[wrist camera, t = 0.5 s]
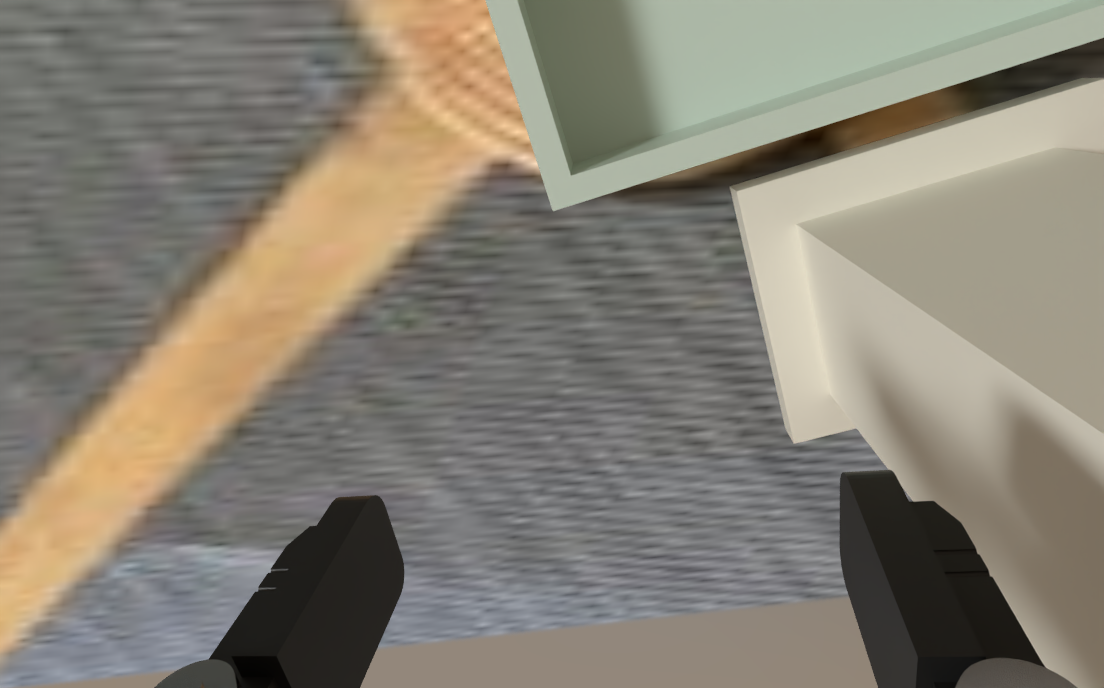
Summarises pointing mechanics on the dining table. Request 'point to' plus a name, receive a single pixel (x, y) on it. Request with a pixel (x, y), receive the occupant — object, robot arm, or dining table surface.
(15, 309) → the dining table surface
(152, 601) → the dining table surface
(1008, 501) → the post
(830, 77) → the pin tray
